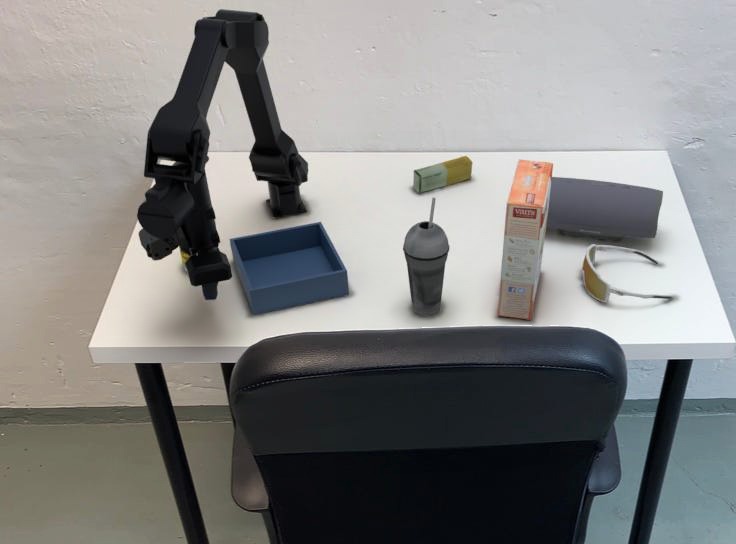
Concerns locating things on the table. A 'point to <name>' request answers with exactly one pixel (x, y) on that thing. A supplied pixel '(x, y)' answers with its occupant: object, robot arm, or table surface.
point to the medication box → (442, 174)
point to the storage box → (289, 267)
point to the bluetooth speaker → (603, 209)
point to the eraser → (209, 297)
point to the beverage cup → (426, 264)
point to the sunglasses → (598, 285)
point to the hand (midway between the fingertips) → (209, 289)
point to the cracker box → (524, 238)
